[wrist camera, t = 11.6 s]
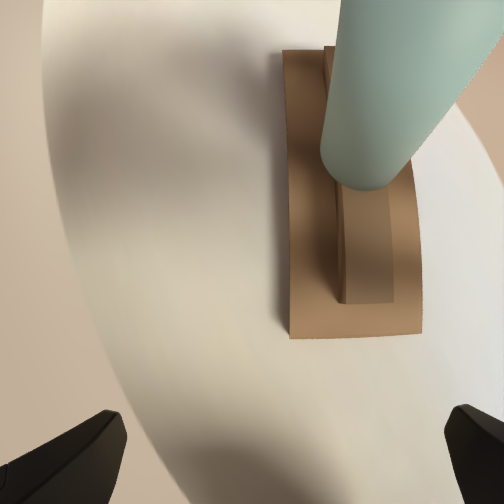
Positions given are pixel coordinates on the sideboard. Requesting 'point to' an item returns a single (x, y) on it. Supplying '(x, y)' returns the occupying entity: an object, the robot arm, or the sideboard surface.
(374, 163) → the dowel
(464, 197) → the sideboard surface
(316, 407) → the sideboard surface
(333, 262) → the ridge stand
